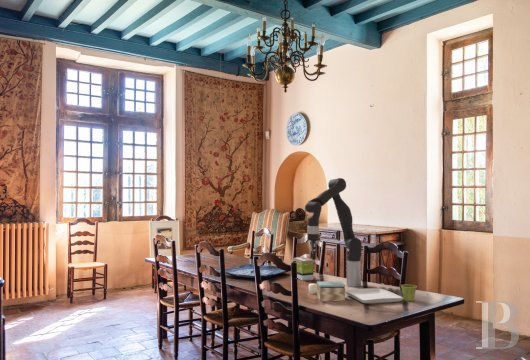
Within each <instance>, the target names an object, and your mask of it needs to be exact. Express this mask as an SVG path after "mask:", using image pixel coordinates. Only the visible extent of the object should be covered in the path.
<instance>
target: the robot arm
mask: <svg viewBox="0 0 530 360" xmlns="http://www.w3.org/2000/svg"><path fill="white" fill-rule="evenodd" d="M327 184H328V185H327V186H328V189H326V190H324V191H322V192H320V194H318V195H317V196H316V197H315V198H312V199H311V200H308V201H307V202H306V203H305V206H304V209H305V211H306V212H307V213H309V214H312V216H308V218H307V231H306V232H307V233H306V234H307V235H306V236H307V237H306V238H307V239H306V240H307V241H309V251H310V259H311V260H313V261H316V259H317V253H318V250H317V247H318V245H317V244H318V243H316V242H317V241H320V225H319V223H320V221H319V219H320V216H321V213H322V207H323V206H325V205H326V204H327V203H328V202H329V201H330V200H331V199H332V201H333V203H334V204H333V205H334V206H335V211H336V214H337V217H338V220H339V224H340V226H341V229H342V230H341V231H342V234H343V240H344V245H345V247H346V248H347V249H348V255H347V256H346V286H347V287H354V288H355V287H356V288H357V287H362V272H361V258H362V251H363V249H362V248H363V244H362V240H361V239H360V238H359V237H356V234H355V233H354V228H353V215H352V211H351V208H350V206H349V205H348V204H347V203H346V202H345V201H344V200H343V199H342V197H341V195H340V193H342V192H343V191H345V190H346V188H347V182H346V180H345V179H344V178H341V177H337V178H334V179H330V180H329V181H328V183H327Z"/></svg>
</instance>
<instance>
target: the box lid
mask: <svg viewBox="0 0 530 360" xmlns="http://www.w3.org/2000/svg"><path fill="white" fill-rule="evenodd" d="M316 284H318V285H319V286H320V287H346V284H344V282H342V281H316Z"/></svg>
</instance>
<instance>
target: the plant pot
mask: <svg viewBox="0 0 530 360" xmlns="http://www.w3.org/2000/svg"><path fill="white" fill-rule="evenodd" d="M400 287H401V290H402V297H403V298H404V299H403V301H405V302H414V301H415V297H416V290H417V288H418V285H415V284H405V283H404V284H400Z"/></svg>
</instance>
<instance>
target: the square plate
mask: <svg viewBox="0 0 530 360" xmlns="http://www.w3.org/2000/svg"><path fill="white" fill-rule="evenodd" d="M345 295H346V296H349V297H351V298H352V299H354V300H355V301H358V302H361V304H362V303H363V304H366V305H367V304H368V305H371V304H389V303H396V302H401V301H402V300H403V299H404V298H403V296H400V295H398V294H396V293H394V292H392V291H389V290H387V289H384V288H380V287H379V288H373V287H372V288H354V289H345ZM403 301H404V300H403Z"/></svg>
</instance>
